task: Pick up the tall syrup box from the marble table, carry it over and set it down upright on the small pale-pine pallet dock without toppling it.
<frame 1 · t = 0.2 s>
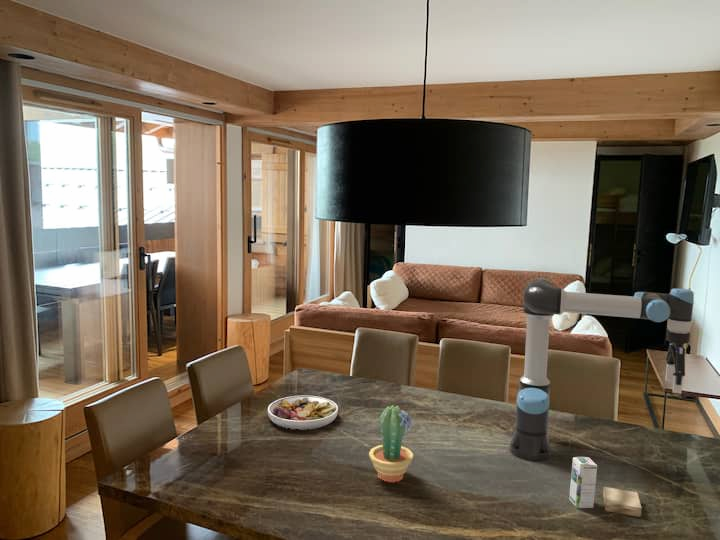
hand: (673, 387, 213), 28 cm above the table, fingers open, 13 cm apart
dock: (621, 505, 182), on the table
syrup box: (581, 504, 183), on the table
potted cactus: (390, 476, 199), on the table
bowl: (303, 419, 248), on the table
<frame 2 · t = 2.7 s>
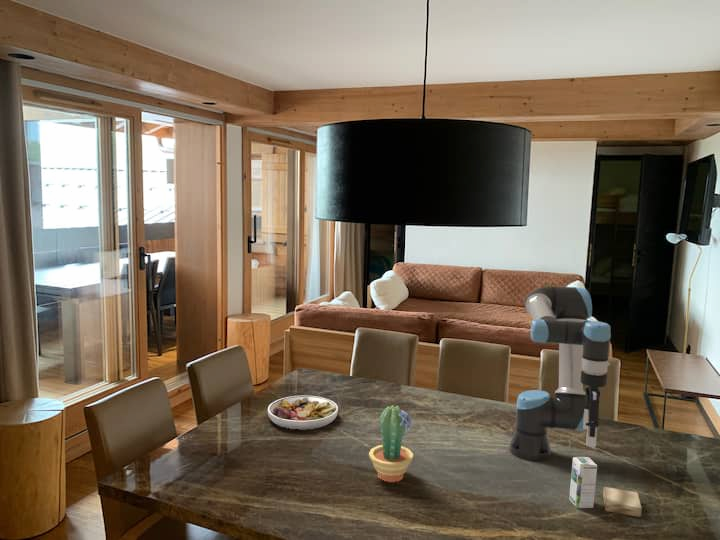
hand: (589, 437, 181), 22 cm above the table, fingers open, 13 cm apart
nothing on the table moved.
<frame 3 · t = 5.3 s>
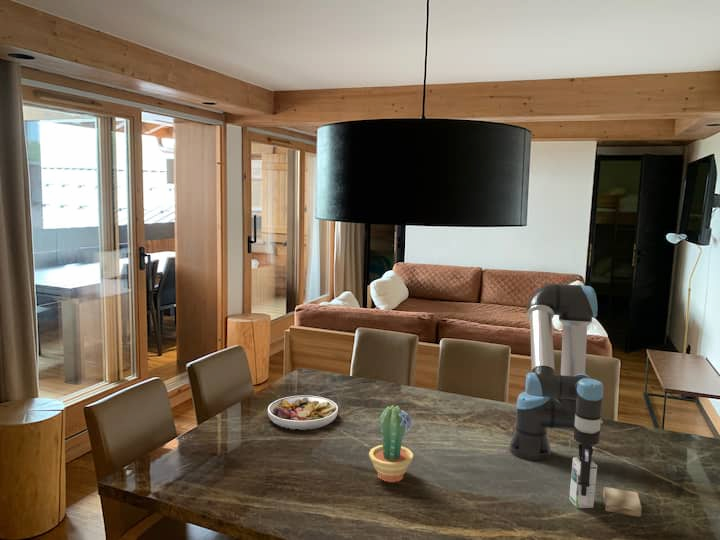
hand: (581, 497, 183), 2 cm above the table, fingers closed on syrup box, 7 cm apart
syrup box: (581, 504, 183), on the table, touching gripper
everything else where it was.
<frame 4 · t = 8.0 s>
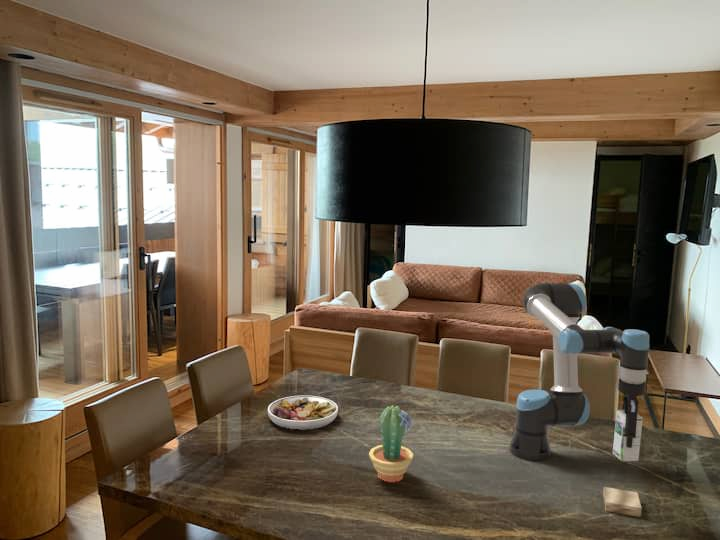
hand: (626, 450, 180), 18 cm above the table, fingers closed on syrup box, 7 cm apart
syrup box: (625, 457, 180), point 16 cm above the table, touching gripper
everything else where it was.
when the fingers open (6 cm above the table, at t = 11.0 s): syrup box stays where it is, resting on dock.
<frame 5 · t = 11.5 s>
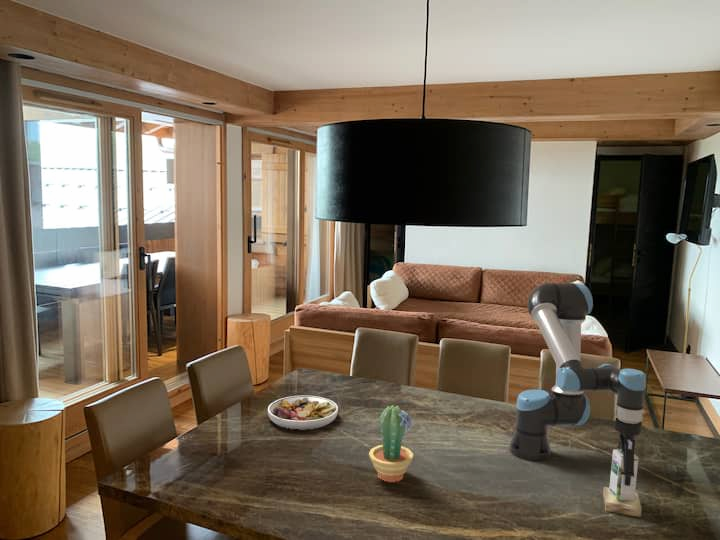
hand: (623, 483, 181), 8 cm above the table, fingers open, 13 cm apart
syrup box: (621, 496, 183), point 3 cm above the table, touching dock
everything else where it was.
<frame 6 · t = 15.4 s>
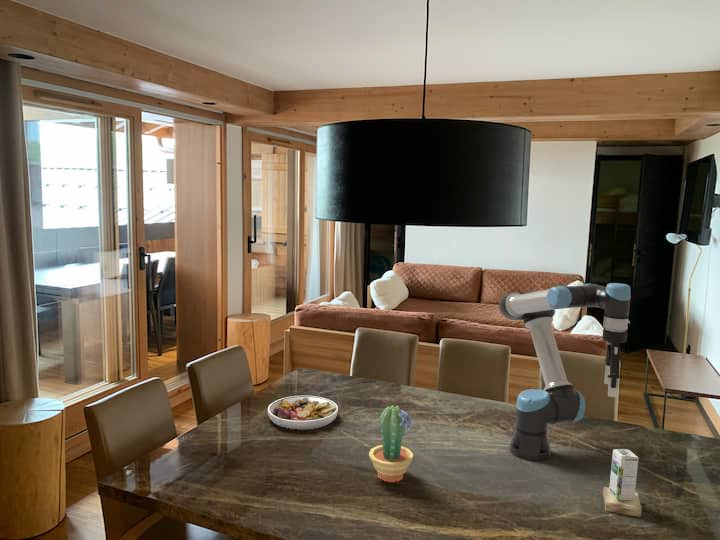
hand: (610, 390, 196), 32 cm above the table, fingers open, 13 cm apart
nothing on the table moved.
at the end: syrup box inside the target area on the dock (0.7 cm from its centre), point 2.8 cm above the dock's base; syrup box tilted 0°; the gripper is holding nothing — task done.
